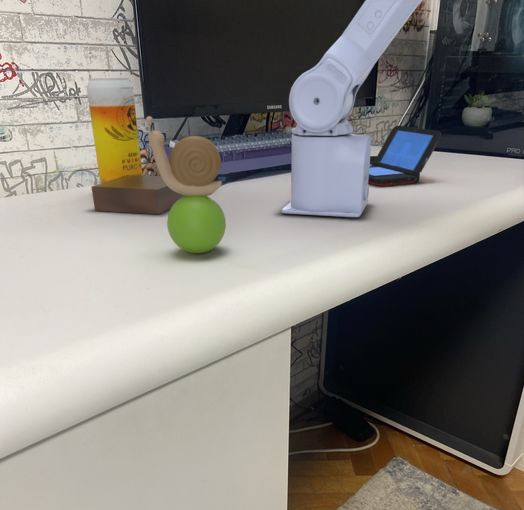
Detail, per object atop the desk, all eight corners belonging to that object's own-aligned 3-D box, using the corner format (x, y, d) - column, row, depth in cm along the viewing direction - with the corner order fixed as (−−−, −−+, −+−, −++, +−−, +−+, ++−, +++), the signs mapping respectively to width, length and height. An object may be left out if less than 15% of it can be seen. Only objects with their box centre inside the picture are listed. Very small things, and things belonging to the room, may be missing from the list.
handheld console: (337, 175, 90) (339, 127, 87) (391, 170, 94) (395, 125, 90) (378, 187, 80) (383, 134, 76) (437, 182, 83) (444, 130, 80)
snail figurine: (162, 245, 53) (148, 114, 48) (226, 243, 54) (220, 113, 48) (157, 262, 48) (141, 118, 43) (227, 259, 49) (221, 117, 43)
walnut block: (188, 200, 73) (187, 177, 72) (158, 214, 65) (156, 189, 64) (130, 196, 75) (127, 174, 74) (94, 210, 68) (91, 186, 66)
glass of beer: (134, 197, 75) (120, 77, 68) (94, 196, 76) (76, 78, 69) (150, 189, 80) (139, 77, 73) (113, 188, 81) (98, 78, 75)
